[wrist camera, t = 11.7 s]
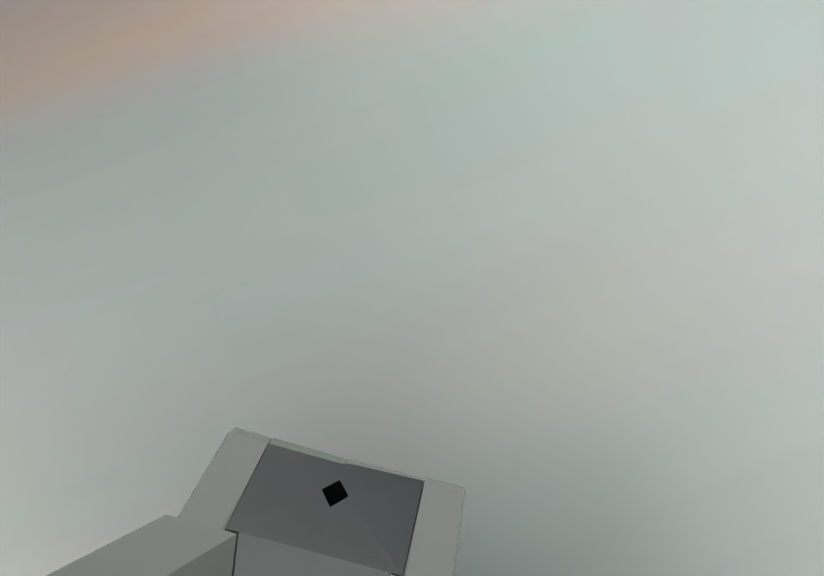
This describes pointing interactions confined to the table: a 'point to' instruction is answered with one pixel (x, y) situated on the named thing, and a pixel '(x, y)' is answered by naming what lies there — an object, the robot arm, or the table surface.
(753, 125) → the table surface
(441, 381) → the table surface
